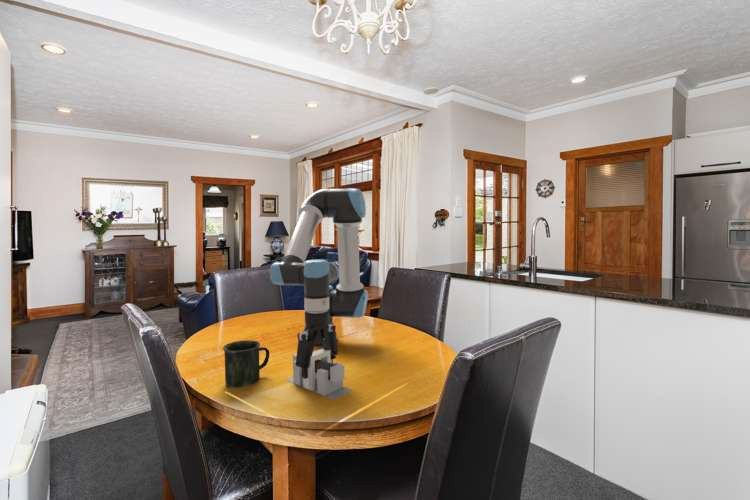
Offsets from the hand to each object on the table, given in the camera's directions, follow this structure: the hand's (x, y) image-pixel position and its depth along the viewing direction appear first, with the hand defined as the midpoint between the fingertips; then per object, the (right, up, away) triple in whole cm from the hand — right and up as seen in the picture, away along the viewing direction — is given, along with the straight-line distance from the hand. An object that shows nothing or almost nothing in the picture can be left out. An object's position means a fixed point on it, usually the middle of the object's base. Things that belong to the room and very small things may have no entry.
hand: (317, 383), depth 120 cm
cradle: (0, -1, 0) cm, 1 cm away
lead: (0, +3, 0) cm, 3 cm away
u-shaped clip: (0, -1, 0) cm, 1 cm away
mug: (-23, -1, +5) cm, 24 cm away
